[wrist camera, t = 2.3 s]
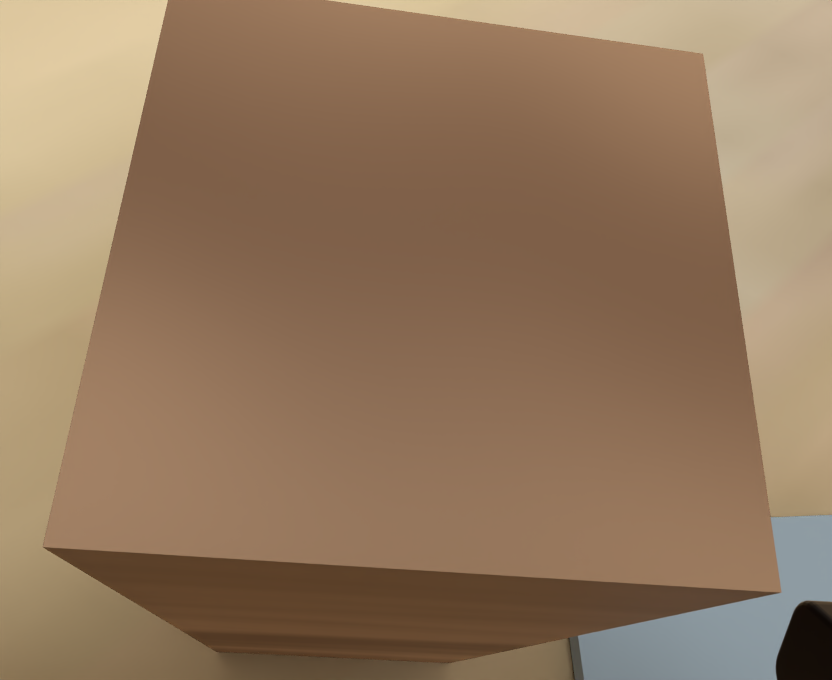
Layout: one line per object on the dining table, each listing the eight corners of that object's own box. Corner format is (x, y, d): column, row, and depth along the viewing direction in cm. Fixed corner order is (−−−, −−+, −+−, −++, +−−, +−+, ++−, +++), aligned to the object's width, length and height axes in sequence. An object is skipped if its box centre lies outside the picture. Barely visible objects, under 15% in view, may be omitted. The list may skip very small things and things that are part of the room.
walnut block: (449, 663, 17) (781, 592, 6) (216, 651, 17) (43, 546, 5) (454, 442, 19) (702, 54, 8) (246, 425, 19) (172, -22, 7)
